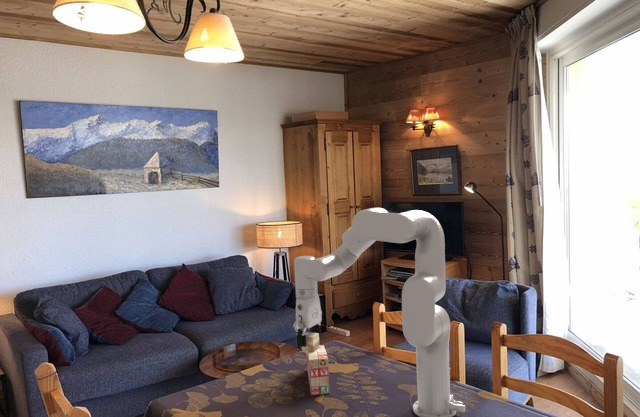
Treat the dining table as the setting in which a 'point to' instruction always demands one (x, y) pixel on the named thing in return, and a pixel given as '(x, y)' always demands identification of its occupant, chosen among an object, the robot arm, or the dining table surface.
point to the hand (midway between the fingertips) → (309, 341)
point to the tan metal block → (311, 342)
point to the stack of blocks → (318, 371)
